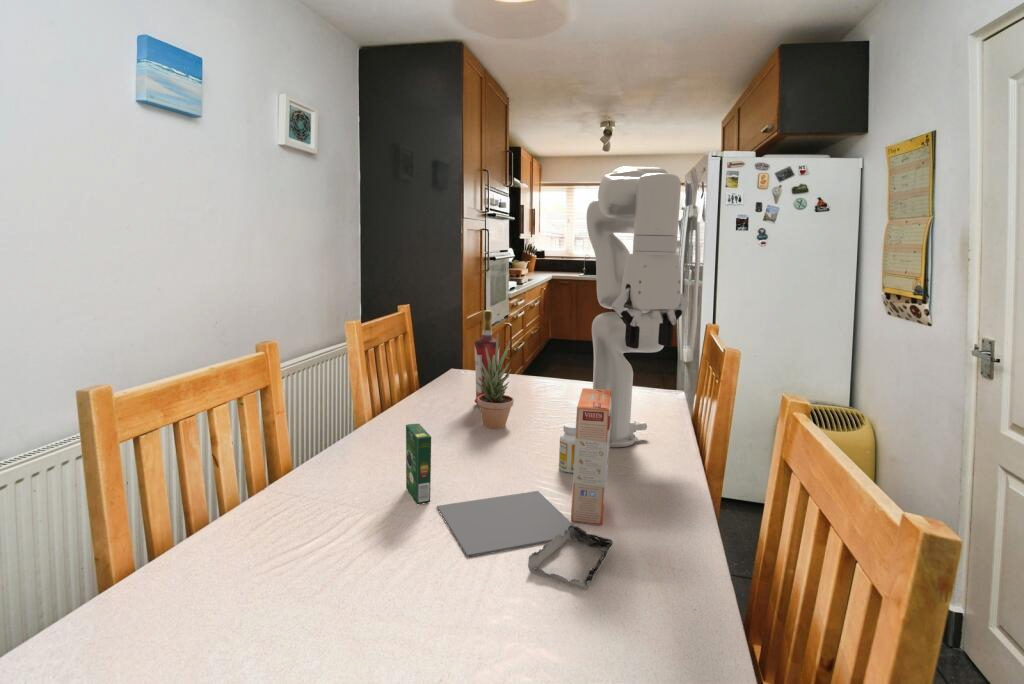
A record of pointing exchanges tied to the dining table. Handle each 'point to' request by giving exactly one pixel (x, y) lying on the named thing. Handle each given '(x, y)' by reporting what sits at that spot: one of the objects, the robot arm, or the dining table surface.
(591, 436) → the cracker box
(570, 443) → the supplement bottle
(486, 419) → the potted plant
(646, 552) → the dining table surface
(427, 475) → the coffee box
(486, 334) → the liquor
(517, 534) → the notebook
